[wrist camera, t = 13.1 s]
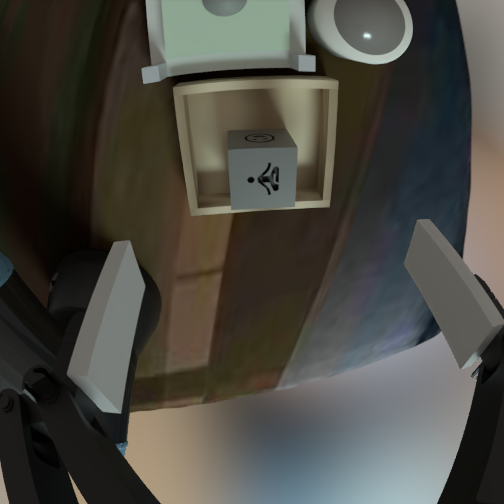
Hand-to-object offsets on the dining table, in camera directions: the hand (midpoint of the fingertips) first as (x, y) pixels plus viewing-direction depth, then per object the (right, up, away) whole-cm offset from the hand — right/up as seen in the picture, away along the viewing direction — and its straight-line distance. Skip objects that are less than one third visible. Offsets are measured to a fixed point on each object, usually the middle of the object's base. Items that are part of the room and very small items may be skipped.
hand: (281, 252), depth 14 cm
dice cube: (-1, +9, +13) cm, 16 cm away
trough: (-1, +10, +13) cm, 16 cm away
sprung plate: (-3, +18, +3) cm, 19 cm away
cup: (+7, +19, +6) cm, 21 cm away
